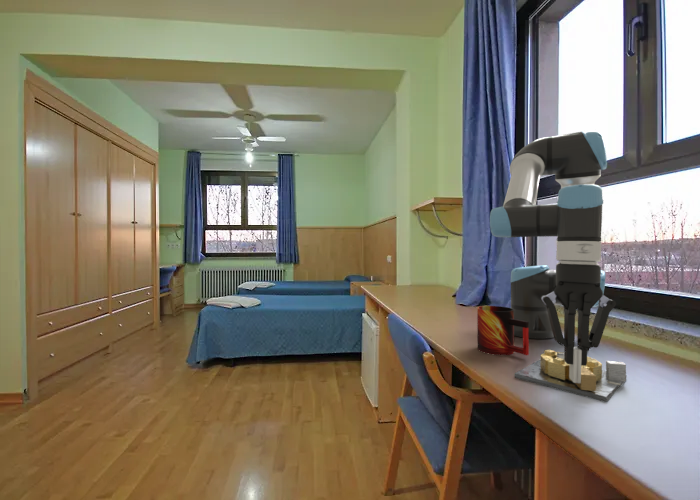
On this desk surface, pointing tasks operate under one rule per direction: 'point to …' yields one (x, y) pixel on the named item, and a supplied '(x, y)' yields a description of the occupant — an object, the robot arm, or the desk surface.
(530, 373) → the grey base plate
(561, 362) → the octagonal block ring
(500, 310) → the mug
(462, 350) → the desk surface
